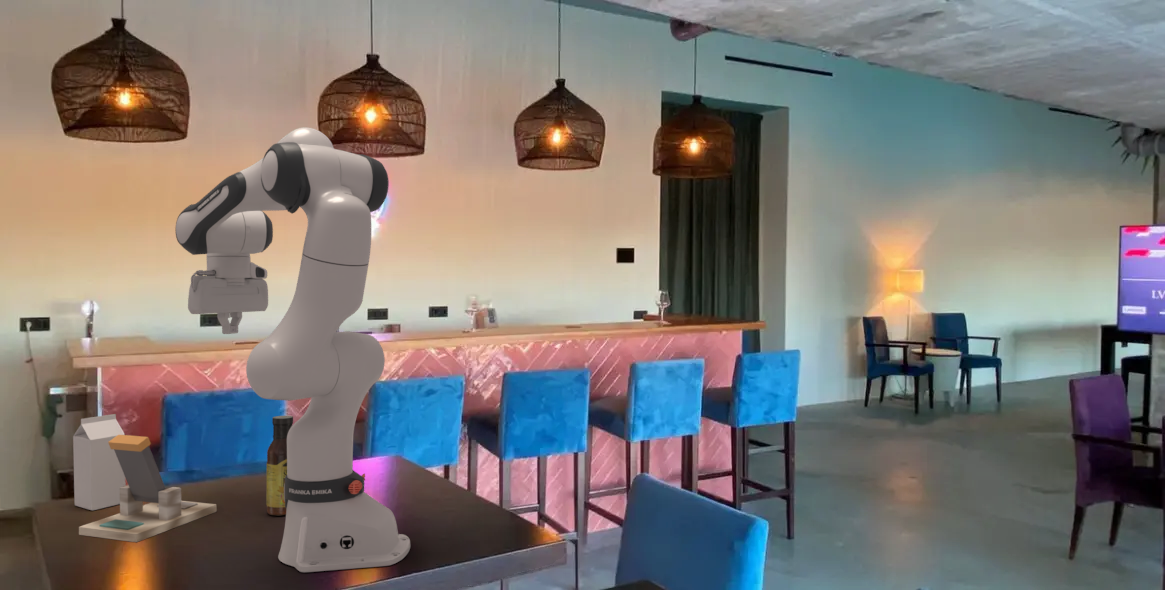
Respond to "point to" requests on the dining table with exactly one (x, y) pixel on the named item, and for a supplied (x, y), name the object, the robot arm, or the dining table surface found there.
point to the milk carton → (97, 463)
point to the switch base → (147, 516)
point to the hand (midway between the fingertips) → (230, 333)
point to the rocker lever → (138, 467)
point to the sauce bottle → (277, 465)
